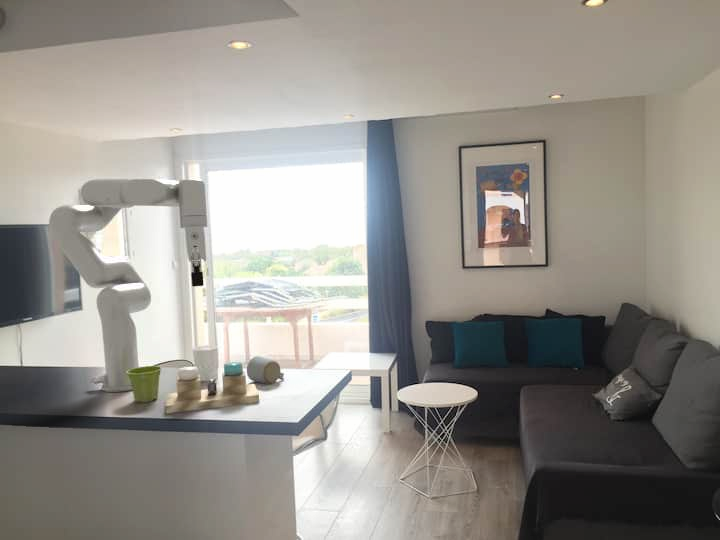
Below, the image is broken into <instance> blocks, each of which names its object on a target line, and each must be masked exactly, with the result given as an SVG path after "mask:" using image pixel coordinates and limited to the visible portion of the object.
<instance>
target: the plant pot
mask: <svg viewBox="0 0 720 540" xmlns="http://www.w3.org/2000/svg"><path fill="white" fill-rule="evenodd" d="M162 369H163V368H162V366H159V365H147V366H139V367H138V368H133V369H130V370H128V371H126V373H127V374H128V376H129V379H130V381H131V385H132V390H131V391H132V393H133V399H134V401H135V402H136V403H138V402H140V403H149V402H152V401H154V400H157V399H158V398H159V386H160V385H159V384H160V375H161V371H162Z"/></svg>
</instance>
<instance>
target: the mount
mask: <svg viewBox="0 0 720 540" xmlns="http://www.w3.org/2000/svg"><path fill="white" fill-rule="evenodd" d="M221 375H222V376H221V379H222V387H217V394H216V395H212V396H209V395H208V388H206V389H201V388H202V387H201V381H200V375H198V378H196V379H193V380H187V381H184V380H179V376H178V377H177V378H176V392H172V393H167V395H166V400H165V414H172V413H182V412H191V411H197V410H205V409H213V408H222V407H230V406H231V407H232V406H238V405H245V404H246V403H248V404H254V403H253V402H256V403H260V395H259V392H258V389H257V387H256V384H255V383H251V384H250V383H249V384H247V378H246V376H247V374H246V372H245V370H244V369H243V373H241V374H238V375H233V376H229V375H225V374H224V372H222V373H221Z"/></svg>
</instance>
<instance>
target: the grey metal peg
mask: <svg viewBox="0 0 720 540" xmlns="http://www.w3.org/2000/svg"><path fill="white" fill-rule="evenodd" d="M215 381H216V379H210V380H209V381H208V383H206V384H207V389H208V395H209V396H212V395H216V394H217V388H218V387H217V382H215Z"/></svg>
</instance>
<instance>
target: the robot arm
mask: <svg viewBox="0 0 720 540" xmlns="http://www.w3.org/2000/svg"><path fill="white" fill-rule="evenodd" d="M80 198H81V199H82V201H83V202H84V203H85V205H84V204H67V205H60V206H59V207H55V209H53V210H52V212H51V213H50V216H49V221H48V228H49V233H50V235H51V238H52V240H53V241H54V243H55V244H56V245H57V247H58V248H59V249H60V250H61V251H62V252H63V253H64V255H65V256H66V257H67V258H68V260H69V261H70V262H71V264H72V265H73V267H74V269H75V270H76V271H77V272H78V274H79V275H80V277H81V279H83V281H84V282H85V283H86V285H87V286H88V287H90V288H92V289H102V290H100V291H99V293H98V295H97V297H96V309H97V312H98V315H99V318H100V323H101V331H102V342H103V352H104V357H103V358H104V366H105V368H104V369H105V373H104V374H102V375H101V376H91V377H90V383H91V384H94V385H95V384H96V385H97V384H101V385H100V386H101V387H100V389H101V391H103V392H107V393H120V392H128V391H133V390H132V385H131V381H130V379H129V376H128V374H127V373H126V371H128V370H130V369H133V368H138V367H140V365H139V354H138V340H137V339H138V338H137V328H136V325H135V321H134V320H133V318H132V316H131V314H133V313H135V314H136V313H139V312H142V311H145V310H146V309H147V308H148V307H149V306H150V305H151V301H152V294H151V291H150V289H149V286H148V285H147V284H146V283H145V281H144V280H143V278H142V277H141V275H139V273H138V272H137V270H136V269H135V267H133V265H132V264H131V262H129V261H128V260H127V259H125V258H124V257H121V256H115V255H114V256H105V255H103V254H102V253H101V251H100V250H99V249H98V248H97V246H96V245H95V243H93V241H92V240H91V239H89V238H88V237H86V236H84V235H83V234H82V233H90V232H92V233H94V232H99V231H102V230H104V229H105V228H106V227H107V226H108V225H109V224H110V223H111V221H113V219H114V218H115V217H116V216H117V215H118V214H119V212H120V211H121V210H122V209H123V208H128V209H129V208H133V207H134V206H142V207H143V206H144V207H148V206H149V207H151V206H152V207H178V211H179V213H178V214H179V226H180V229H184V233H185V236H184V237H185V245H186V246H185V247H186V253H187V259H188V261H189V262H190V264H191V274H190V275H191V276H190V277H191V287H204V272H203V270H202V269H203V268H202V266H203V265H202V260H203V262H206V261H207V249H206V234H205V233H206V232H205V228H208V216H207V214H208V213H207V199H206V184H205V182H204V181H203V180H202V179H200V178H199V179H198V178H185V179H184V178H183V179H180V180H179V181H178V180H171V179H169V180H168V179H159V178H133V179H132V178H131V179H130V178H114V179H113V178H107V179H106V178H100V179H99V178H98V179H90V180H88V181H86V182H84V184H83V185H82V186H81V188H80Z"/></svg>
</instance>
